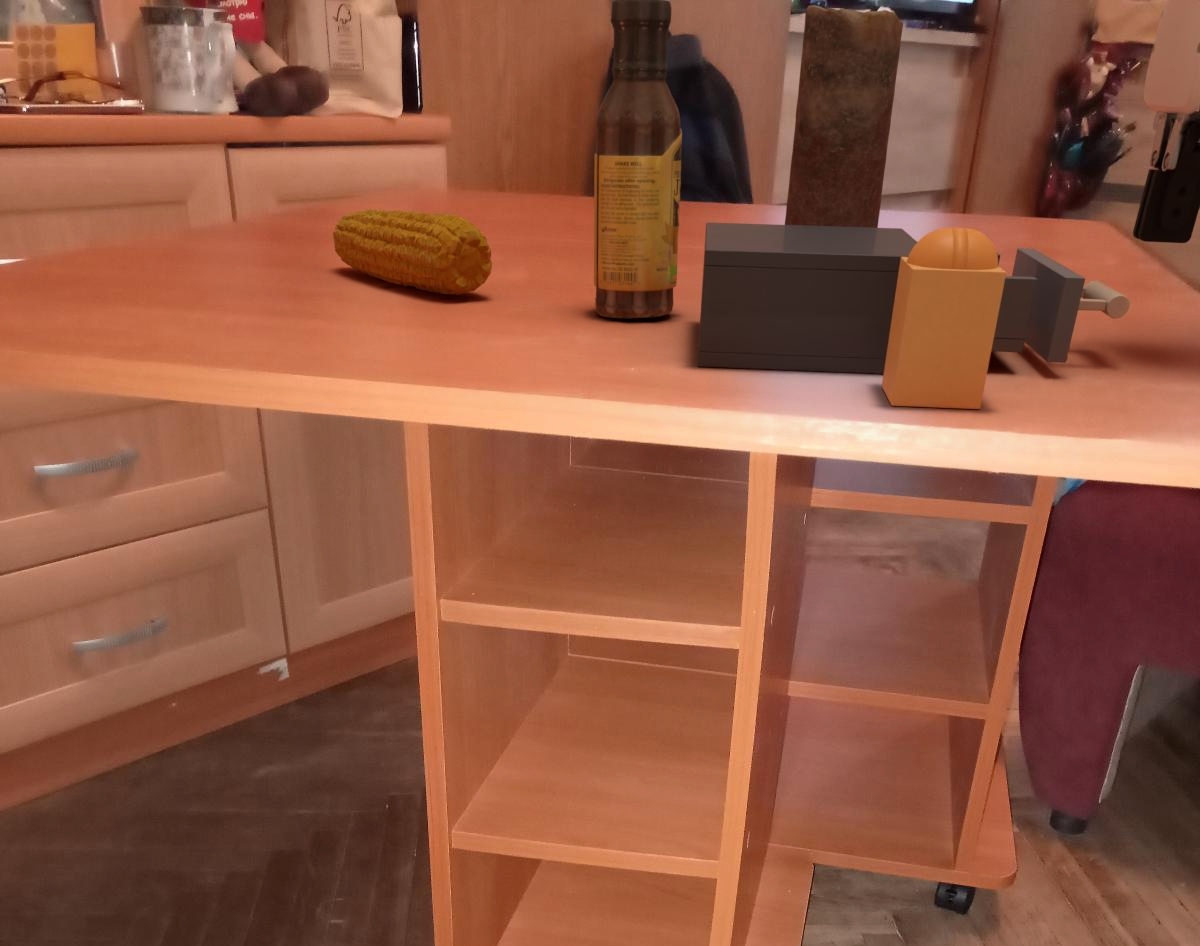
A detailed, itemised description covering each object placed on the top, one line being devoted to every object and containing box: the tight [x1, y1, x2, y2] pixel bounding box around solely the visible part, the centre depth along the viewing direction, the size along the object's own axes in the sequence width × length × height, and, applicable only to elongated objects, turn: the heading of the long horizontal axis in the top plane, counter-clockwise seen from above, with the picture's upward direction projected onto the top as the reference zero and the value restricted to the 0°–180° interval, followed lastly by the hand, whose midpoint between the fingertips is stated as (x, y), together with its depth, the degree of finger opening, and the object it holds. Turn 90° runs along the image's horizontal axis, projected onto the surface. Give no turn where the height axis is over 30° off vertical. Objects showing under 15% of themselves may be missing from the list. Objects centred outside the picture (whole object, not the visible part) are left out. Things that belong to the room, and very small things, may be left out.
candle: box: [784, 4, 904, 228], centre depth 88 cm, size 8×7×20 cm
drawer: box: [991, 247, 1131, 364], centre depth 76 cm, size 17×13×5 cm
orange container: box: [881, 227, 1007, 410], centre depth 65 cm, size 5×5×9 cm
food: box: [332, 208, 493, 296], centre depth 96 cm, size 21×6×6 cm, turn 41°
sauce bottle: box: [593, 0, 683, 320], centre depth 83 cm, size 6×6×20 cm
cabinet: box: [697, 222, 918, 375], centre depth 77 cm, size 14×14×7 cm
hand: (1160, 239), depth 75 cm, fingers closed
